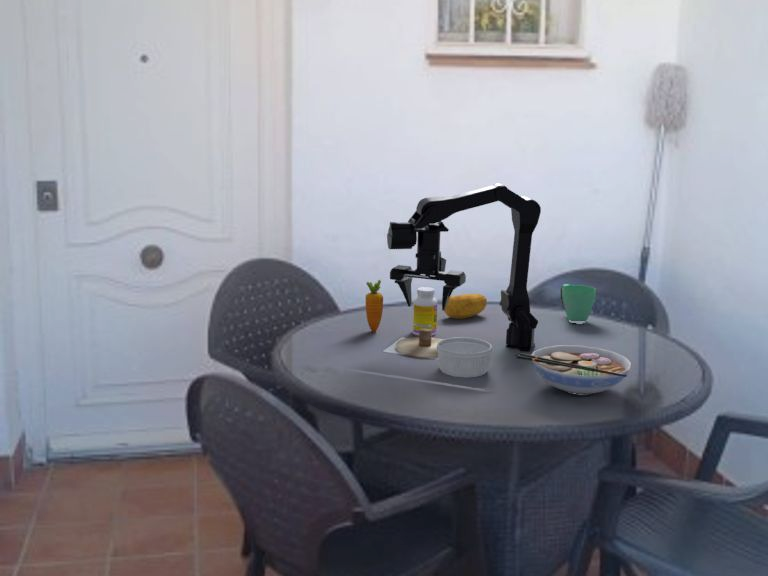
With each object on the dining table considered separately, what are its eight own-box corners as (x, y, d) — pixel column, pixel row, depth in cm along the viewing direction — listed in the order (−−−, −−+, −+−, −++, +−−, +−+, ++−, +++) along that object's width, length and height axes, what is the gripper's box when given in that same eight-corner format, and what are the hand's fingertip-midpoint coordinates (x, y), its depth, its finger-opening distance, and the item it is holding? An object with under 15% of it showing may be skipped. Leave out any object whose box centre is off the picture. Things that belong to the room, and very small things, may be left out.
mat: (465, 347, 243) (465, 346, 243) (449, 363, 231) (449, 361, 231) (401, 339, 250) (401, 337, 250) (382, 353, 237) (382, 351, 237)
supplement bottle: (436, 338, 251) (438, 292, 248) (412, 337, 251) (413, 291, 248) (435, 331, 258) (437, 286, 255) (412, 330, 258) (413, 285, 255)
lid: (461, 344, 244) (461, 326, 243) (443, 361, 231) (444, 341, 230) (407, 337, 250) (408, 319, 248) (387, 353, 236) (387, 334, 235)
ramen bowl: (645, 386, 217) (649, 353, 215) (616, 416, 198) (619, 380, 196) (545, 367, 229) (547, 335, 227) (508, 393, 210) (510, 359, 208)
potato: (491, 317, 273) (493, 294, 271) (450, 323, 266) (451, 299, 265) (478, 312, 279) (479, 289, 278) (437, 317, 273) (438, 293, 271)
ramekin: (446, 383, 216) (448, 354, 215) (428, 365, 229) (429, 338, 227) (499, 379, 220) (500, 351, 219) (478, 362, 232) (479, 335, 231)
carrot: (362, 334, 253) (363, 281, 249) (367, 329, 258) (368, 277, 254) (380, 336, 252) (381, 282, 248) (384, 331, 256) (385, 278, 253)
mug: (600, 325, 267) (603, 292, 265) (570, 327, 265) (572, 293, 262) (575, 312, 281) (578, 280, 279) (546, 314, 278) (548, 282, 276)
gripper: (473, 246, 238) (470, 305, 242) (404, 240, 244) (403, 297, 248) (460, 254, 228) (457, 315, 232) (389, 247, 234) (388, 307, 238)
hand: (426, 308), depth 238 cm, fingers open, 9 cm apart
